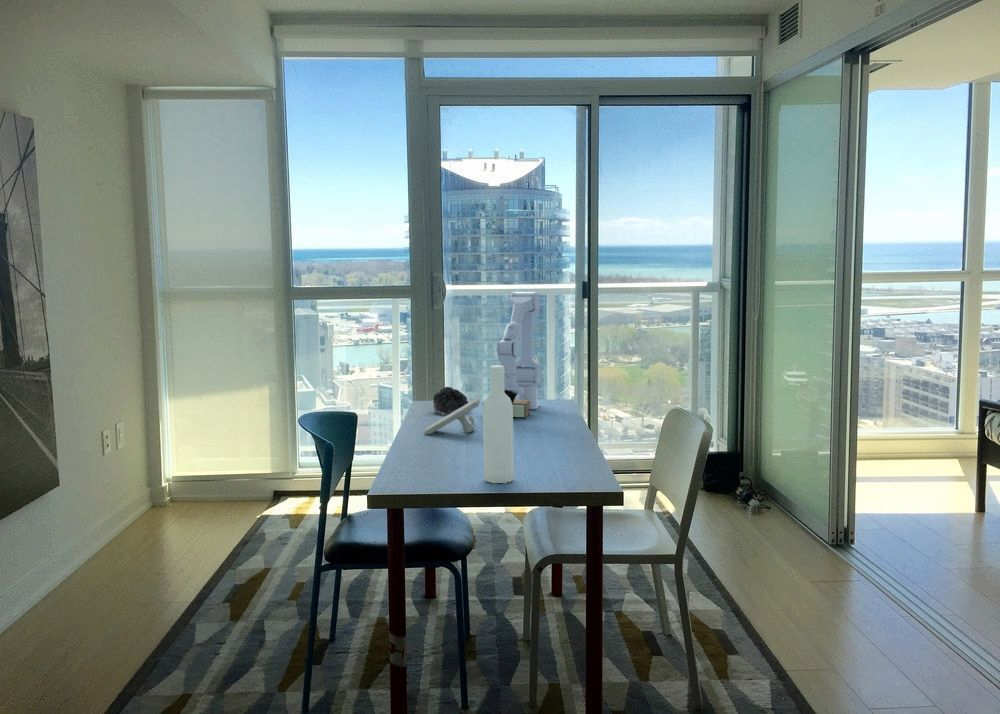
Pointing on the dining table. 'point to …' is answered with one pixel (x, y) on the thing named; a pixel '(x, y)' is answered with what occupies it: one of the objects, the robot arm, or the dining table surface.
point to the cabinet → (523, 402)
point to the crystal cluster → (448, 401)
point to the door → (519, 411)
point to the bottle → (498, 431)
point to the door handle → (456, 415)
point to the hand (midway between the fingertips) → (508, 411)
